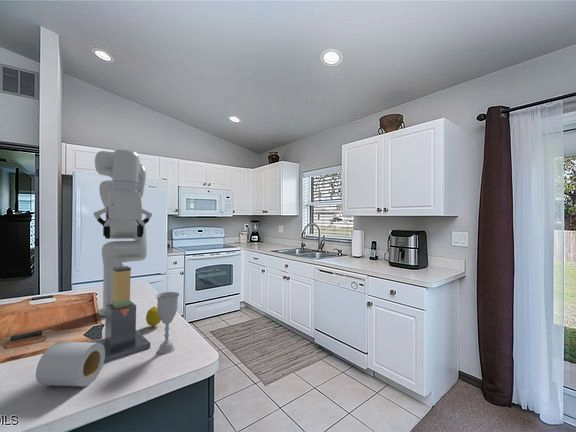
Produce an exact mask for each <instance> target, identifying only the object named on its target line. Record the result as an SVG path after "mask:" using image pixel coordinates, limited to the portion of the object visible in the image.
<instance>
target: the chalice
mask: <svg viewBox="0 0 576 432" xmlns="http://www.w3.org/2000/svg"><path fill="white" fill-rule="evenodd" d="M179 296H180V293H179V292H177V291H176V292H174V291H165V292H160V293H158V294H156V295H155V297H156V299H157V304H156V305H157V306H156V307H157V311H158V314H159V317H160V319H161V321H160V322H162V323H163V324H164V325H165V327H164V331H165V333H164V334H163V336H164V338H165V339H164V341H162V343H160V345H159V347H158V348H159V349H158V350H157V352H158V353H159V354H169V353H172V352H173V351H175V348H176V347H175V345H174V343H173V341H171V340H170V339H169V336H171V334H170V333H169V331H170V330H171V329H170V327H169V324H171V323H172V322H173V320H174V319H175V316H176V314H177V311H178V303H179V302H178V299H179Z"/></svg>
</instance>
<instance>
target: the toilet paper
mask: <svg viewBox="0 0 576 432" xmlns="http://www.w3.org/2000/svg"><path fill="white" fill-rule="evenodd" d="M104 359H105V348H104V346H103V345H102V344H101V343H90V342H86V341H85V342H83V341H81V342H80V341H74V342H73V341H58V342H56V343H55V342H54V343H53V344H52V345H50V346H49V347H48V348H47V349H46V350H45V351H44V353H43V354H42V355H41V356H40V359H39V360H38V363H37V366H36V369H35V378H36V381H37V383H38V385H41V386H46V387H47V386H48V387H49V386H52V387H53V386H55V387H59V386H60V387H88V386H90V384H92V383H93V382H95V380H96V379H97V378H98V375H99V374H100V372H101V371H102V369H103V366H104Z"/></svg>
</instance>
